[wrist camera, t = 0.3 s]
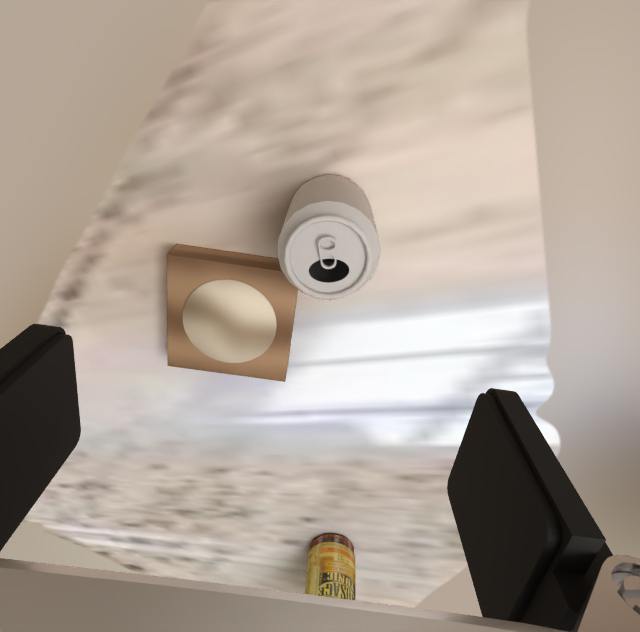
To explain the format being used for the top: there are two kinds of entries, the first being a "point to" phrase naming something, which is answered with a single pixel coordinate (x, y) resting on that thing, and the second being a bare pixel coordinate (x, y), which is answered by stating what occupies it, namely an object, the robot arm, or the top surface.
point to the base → (228, 313)
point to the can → (329, 238)
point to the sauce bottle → (331, 568)
